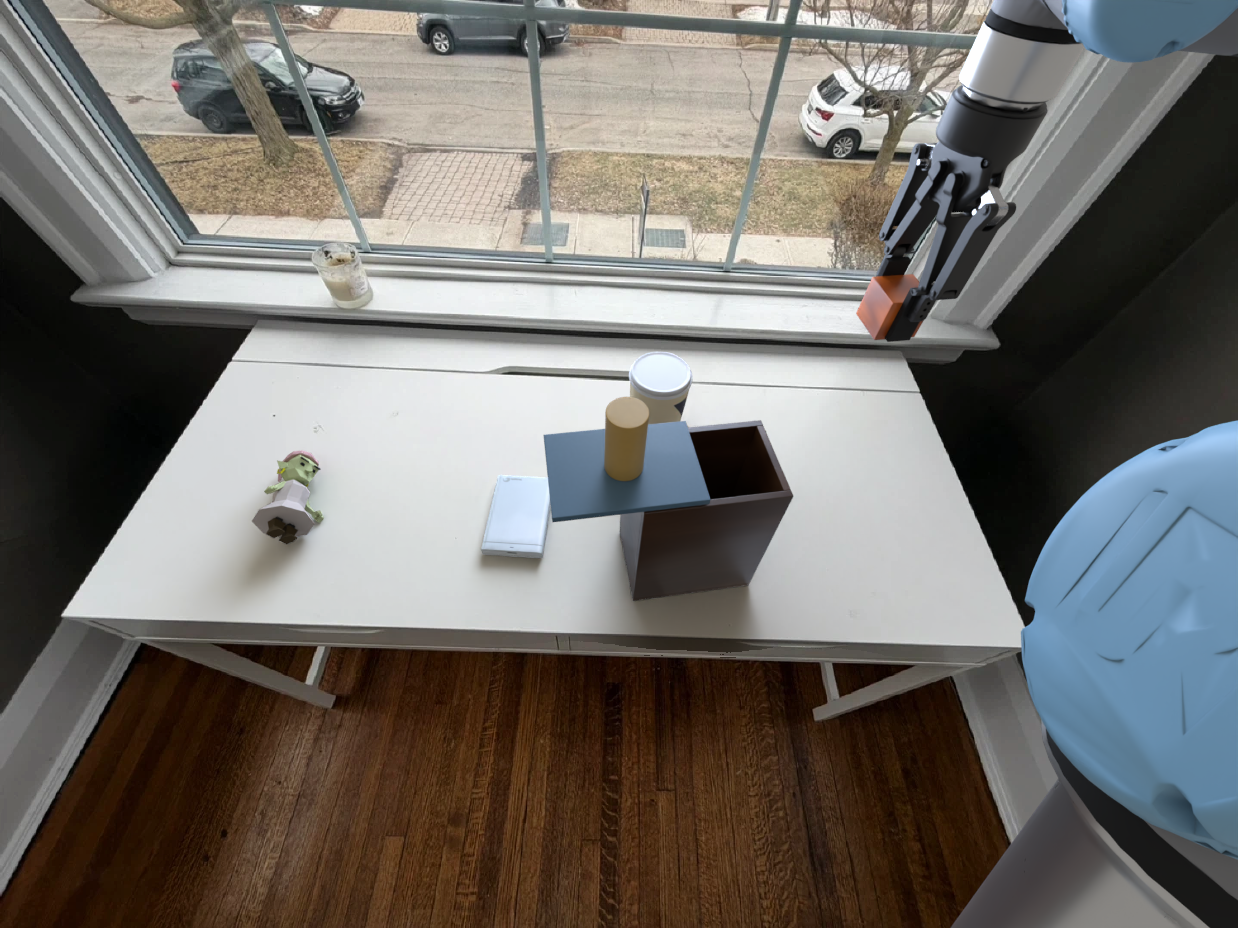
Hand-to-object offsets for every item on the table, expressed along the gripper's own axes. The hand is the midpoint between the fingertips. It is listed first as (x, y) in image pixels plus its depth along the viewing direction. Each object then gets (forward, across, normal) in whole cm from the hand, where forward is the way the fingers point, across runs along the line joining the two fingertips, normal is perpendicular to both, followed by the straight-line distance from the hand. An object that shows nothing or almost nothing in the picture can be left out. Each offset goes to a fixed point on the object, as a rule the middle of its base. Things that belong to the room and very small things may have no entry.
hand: (885, 322), depth 64 cm
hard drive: (+27, -3, +45) cm, 53 cm away
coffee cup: (+27, +11, +23) cm, 37 cm away
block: (0, 0, 0) cm, 0 cm away
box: (+27, -13, +24) cm, 38 cm away
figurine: (+23, +3, +72) cm, 76 cm away
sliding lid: (+6, -13, +33) cm, 36 cm away
